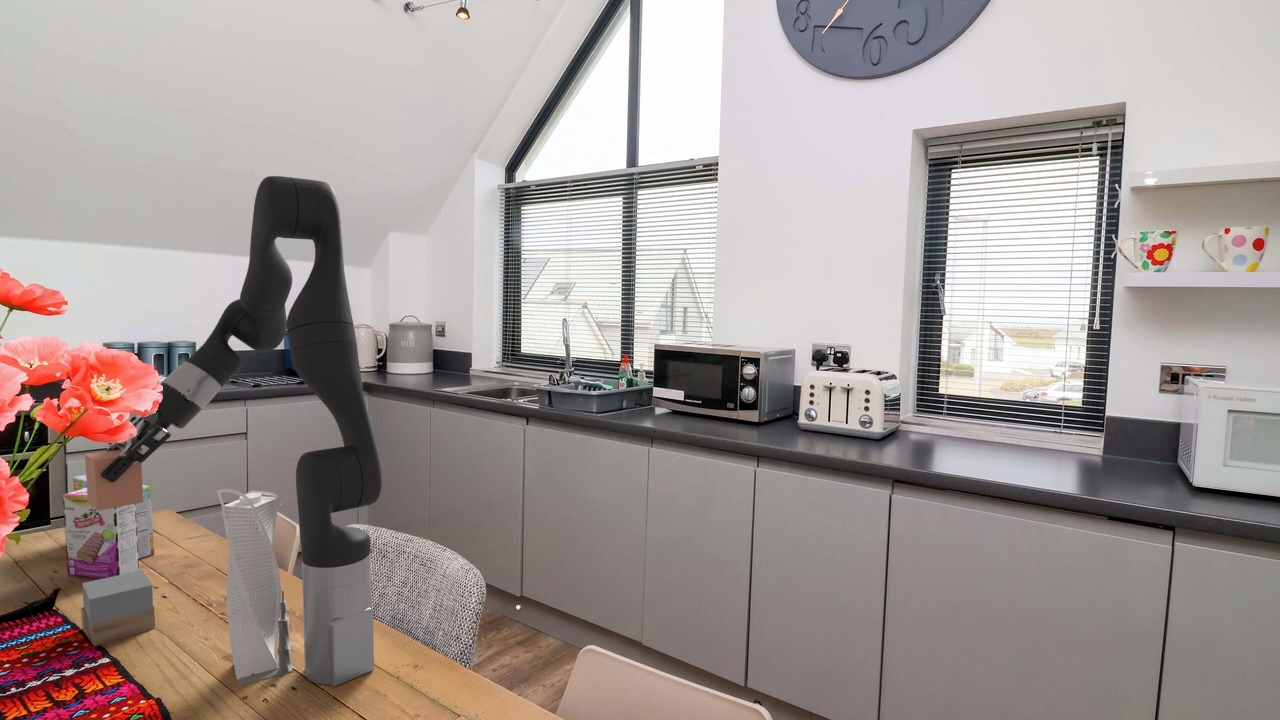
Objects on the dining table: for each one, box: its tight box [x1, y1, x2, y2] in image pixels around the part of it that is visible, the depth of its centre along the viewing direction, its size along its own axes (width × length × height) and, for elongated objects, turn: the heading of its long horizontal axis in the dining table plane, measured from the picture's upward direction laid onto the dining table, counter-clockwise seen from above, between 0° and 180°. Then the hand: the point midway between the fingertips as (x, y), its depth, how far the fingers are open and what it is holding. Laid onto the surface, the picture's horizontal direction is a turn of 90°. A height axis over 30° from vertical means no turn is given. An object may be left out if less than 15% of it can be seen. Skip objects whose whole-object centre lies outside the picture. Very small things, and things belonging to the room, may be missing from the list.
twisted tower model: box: [216, 488, 294, 687], centre depth 100 cm, size 8×8×28 cm
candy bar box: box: [62, 488, 140, 579], centre depth 132 cm, size 11×5×16 cm, turn 84°
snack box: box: [72, 474, 155, 561], centre depth 145 cm, size 21×6×15 cm, turn 62°
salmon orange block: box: [84, 449, 143, 511], centre depth 110 cm, size 6×6×8 cm
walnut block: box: [80, 605, 156, 647], centre depth 112 cm, size 8×8×4 cm
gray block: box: [82, 569, 154, 624], centre depth 111 cm, size 8×8×4 cm
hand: (101, 475), depth 109 cm, fingers closed on salmon orange block, 6 cm apart
